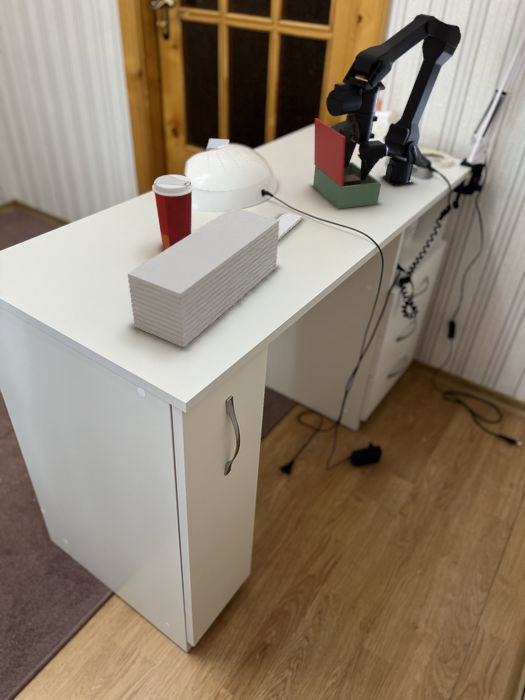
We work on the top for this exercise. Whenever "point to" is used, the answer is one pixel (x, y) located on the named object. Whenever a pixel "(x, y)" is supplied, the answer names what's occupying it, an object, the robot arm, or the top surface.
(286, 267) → the top surface
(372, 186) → the box
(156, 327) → the stack of papers
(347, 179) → the walnut block
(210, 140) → the small box
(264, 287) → the top surface
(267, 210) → the top surface
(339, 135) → the lid
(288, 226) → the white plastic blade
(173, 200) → the coffee cup
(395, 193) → the top surface
